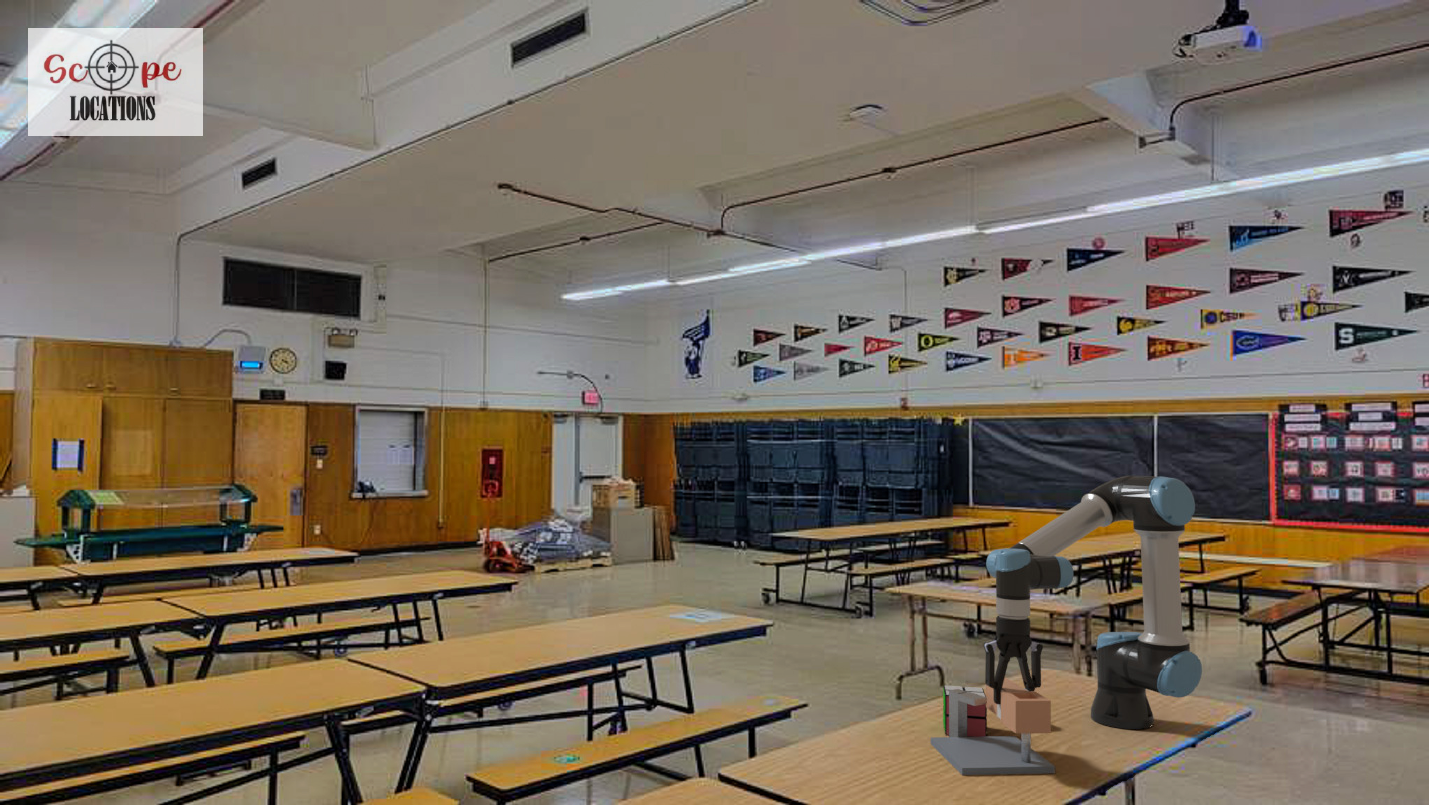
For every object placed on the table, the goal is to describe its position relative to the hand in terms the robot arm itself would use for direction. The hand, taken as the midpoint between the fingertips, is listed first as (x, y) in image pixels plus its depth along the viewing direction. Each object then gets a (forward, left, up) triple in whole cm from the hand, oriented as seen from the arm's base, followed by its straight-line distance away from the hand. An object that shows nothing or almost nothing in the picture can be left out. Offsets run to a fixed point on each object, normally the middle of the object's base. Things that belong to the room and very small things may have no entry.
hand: (1013, 718), depth 208 cm
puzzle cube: (+4, -21, -9) cm, 23 cm away
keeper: (+7, -10, -9) cm, 15 cm away
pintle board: (+5, -1, -9) cm, 11 cm away
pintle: (0, +6, -9) cm, 11 cm away
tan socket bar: (0, 0, 0) cm, 0 cm away
